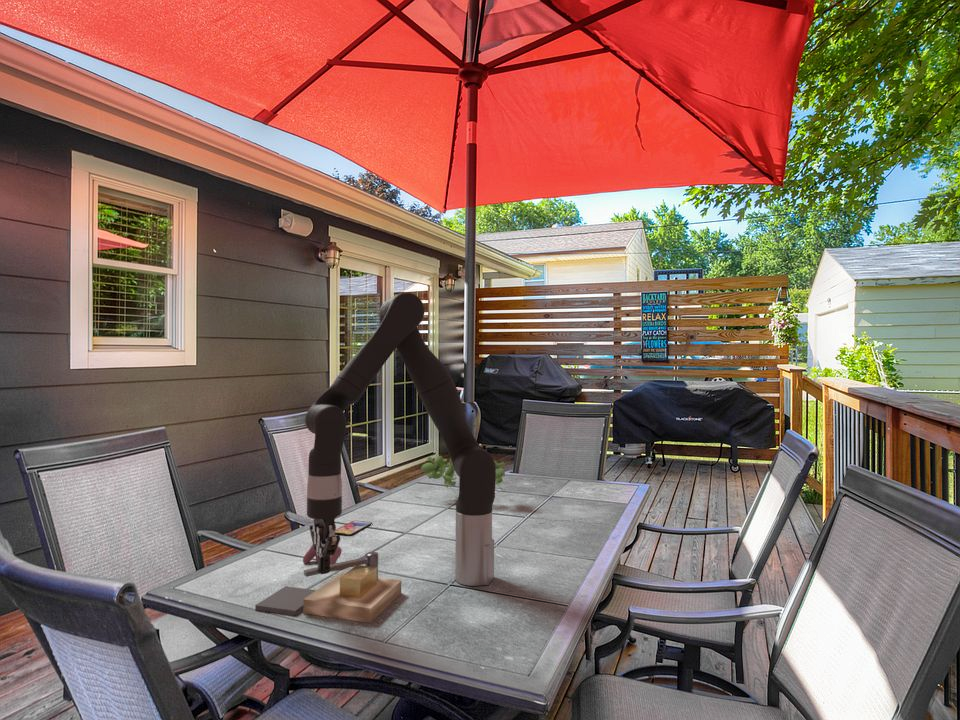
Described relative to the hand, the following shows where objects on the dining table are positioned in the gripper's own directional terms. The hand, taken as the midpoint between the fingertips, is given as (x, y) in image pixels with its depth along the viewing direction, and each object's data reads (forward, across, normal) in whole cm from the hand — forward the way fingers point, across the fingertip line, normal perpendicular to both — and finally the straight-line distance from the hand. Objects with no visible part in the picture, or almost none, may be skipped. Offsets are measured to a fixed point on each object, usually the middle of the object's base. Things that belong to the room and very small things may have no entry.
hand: (323, 572), depth 126 cm
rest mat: (+8, +7, +5) cm, 12 cm away
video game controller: (+8, +27, -10) cm, 30 cm away
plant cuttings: (+7, +62, -82) cm, 103 cm away
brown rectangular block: (+5, -2, -7) cm, 9 cm away
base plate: (+8, -1, -7) cm, 10 cm away
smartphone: (+8, +52, -29) cm, 60 cm away
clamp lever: (+4, +2, -5) cm, 7 cm away
